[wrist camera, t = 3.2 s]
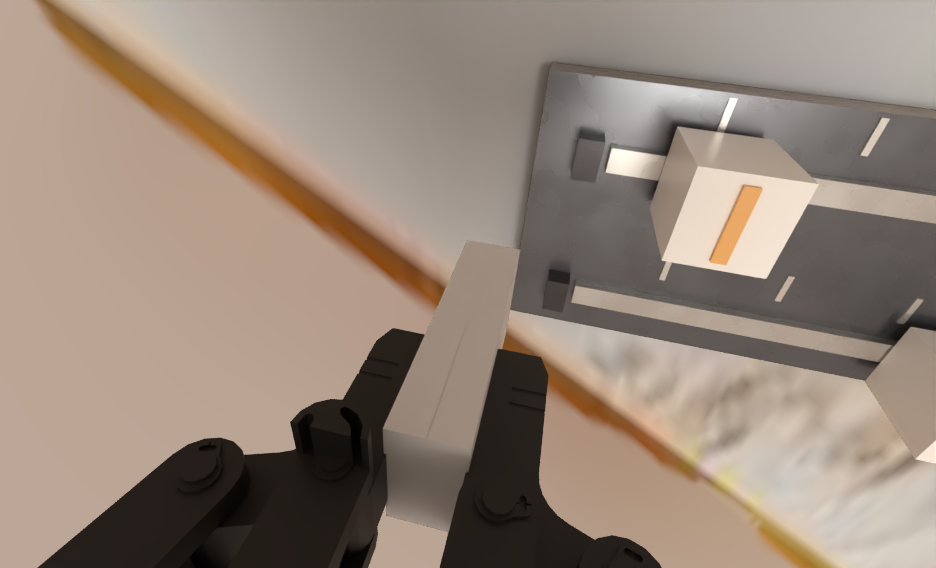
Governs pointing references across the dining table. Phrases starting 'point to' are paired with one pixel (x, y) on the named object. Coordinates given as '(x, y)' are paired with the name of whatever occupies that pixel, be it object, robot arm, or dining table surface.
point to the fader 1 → (728, 201)
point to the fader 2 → (910, 390)
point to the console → (716, 292)
